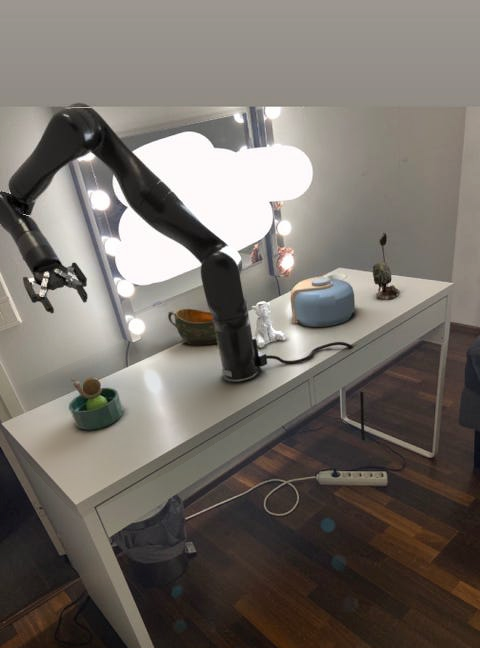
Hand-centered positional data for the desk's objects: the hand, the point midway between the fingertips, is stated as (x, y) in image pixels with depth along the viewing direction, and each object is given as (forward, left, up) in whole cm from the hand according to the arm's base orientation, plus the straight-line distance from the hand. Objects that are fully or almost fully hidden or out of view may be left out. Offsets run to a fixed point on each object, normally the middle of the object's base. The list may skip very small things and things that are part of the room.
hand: (69, 305), depth 121 cm
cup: (-40, -11, -27) cm, 50 cm away
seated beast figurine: (-51, +8, -27) cm, 59 cm away
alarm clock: (-74, +9, -27) cm, 80 cm away
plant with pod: (-98, +14, -27) cm, 103 cm away
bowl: (+5, +10, -27) cm, 29 cm away
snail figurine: (+5, +9, -26) cm, 28 cm away
